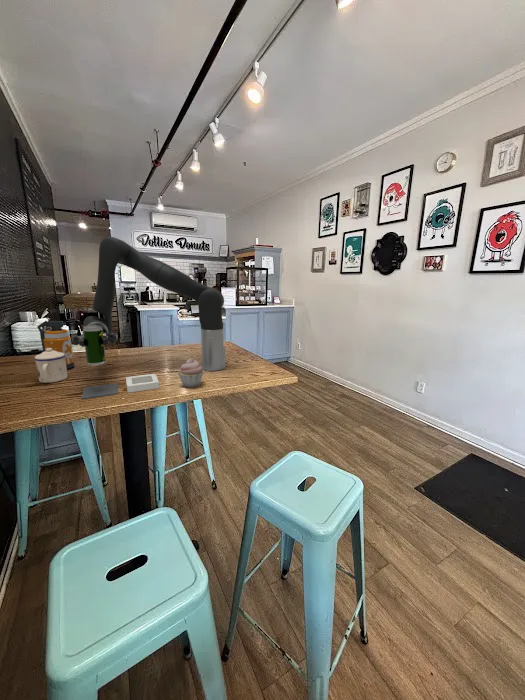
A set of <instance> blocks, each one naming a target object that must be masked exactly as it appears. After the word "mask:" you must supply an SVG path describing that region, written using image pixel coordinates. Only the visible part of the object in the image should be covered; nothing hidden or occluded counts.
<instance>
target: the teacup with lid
mask: <svg viewBox="0 0 525 700" xmlns="http://www.w3.org/2000/svg"><path fill="white" fill-rule="evenodd" d="M34 361H35V367H36V371H37V377H38V380H39V382H40V383H56V382H61V381H64V380H66V379H67V378H68V369H66V362H65V354H64V353H62V352H57V351H53V350H52V348H47V349H46V351H45V352H43V351H42V352H41V353H39V354H37V355H35V356H34Z"/></svg>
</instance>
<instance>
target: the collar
mask: <svg viewBox="0 0 525 700" xmlns="http://www.w3.org/2000/svg"><path fill="white" fill-rule="evenodd" d="M125 380H126V382H125V383H126V389H127V393H135V392H142V391H150V390H155V389H156V390H157V389H160V381H159V379H158V377H157V374H156V373H151V374H144V375H143V374H142V375H132V376H126V377H125Z"/></svg>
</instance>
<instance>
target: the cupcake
mask: <svg viewBox="0 0 525 700" xmlns="http://www.w3.org/2000/svg"><path fill="white" fill-rule="evenodd" d="M204 374H205V370H203V369H202V365H200V362H199V361H197V360H196V359H194V358H192V357H191V358H189V359H187V360H186V361H185V363H183V364H181V366H180V370H179V371H178V372H177V375H178V377H179V378H180V381H181V385H182V386H183V387H184V388H195V387H199V386H201V383H202V378H203V376H204Z"/></svg>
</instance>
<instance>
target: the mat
mask: <svg viewBox="0 0 525 700" xmlns="http://www.w3.org/2000/svg"><path fill="white" fill-rule="evenodd" d="M115 395H118V382H116V383H109V384H108V383H107V384H100V385H92V386H86V387H84V388H83V391H82V395H81V400H86V399H94V398H101V397H108V396H115Z"/></svg>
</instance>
